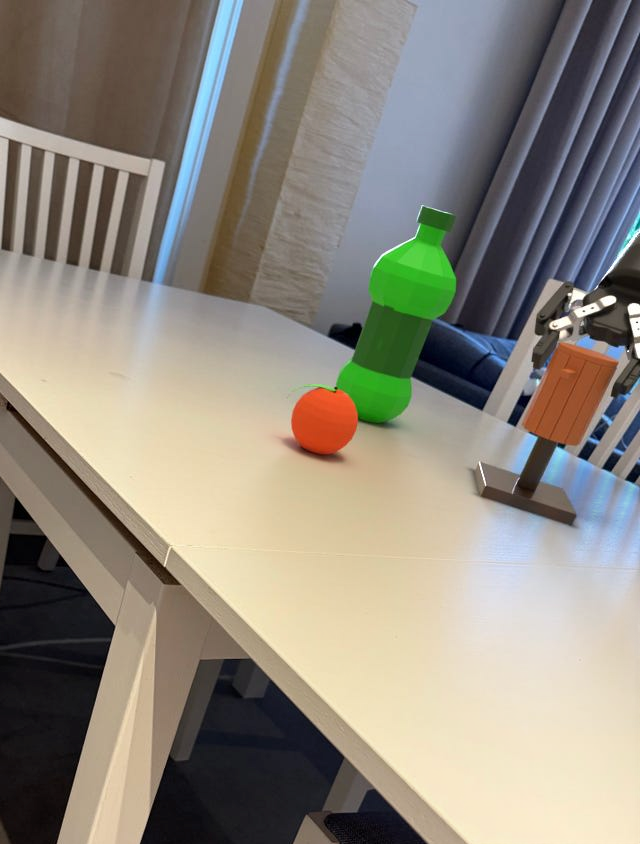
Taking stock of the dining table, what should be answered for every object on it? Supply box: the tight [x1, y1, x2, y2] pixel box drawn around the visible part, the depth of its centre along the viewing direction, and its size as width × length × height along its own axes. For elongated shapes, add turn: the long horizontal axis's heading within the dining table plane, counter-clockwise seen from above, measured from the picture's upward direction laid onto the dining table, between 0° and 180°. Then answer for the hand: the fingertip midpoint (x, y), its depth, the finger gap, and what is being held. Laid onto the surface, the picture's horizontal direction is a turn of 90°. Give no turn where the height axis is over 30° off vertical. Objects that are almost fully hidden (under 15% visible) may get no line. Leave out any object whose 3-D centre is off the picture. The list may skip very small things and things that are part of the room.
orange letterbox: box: [520, 342, 620, 447], centre depth 97 cm, size 9×6×9 cm
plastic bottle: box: [335, 205, 457, 424], centre depth 113 cm, size 10×10×25 cm
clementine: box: [286, 383, 359, 455], centre depth 97 cm, size 8×7×7 cm
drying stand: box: [474, 435, 578, 526], centre depth 100 cm, size 10×10×16 cm
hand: (574, 377), depth 96 cm, fingers open, 8 cm apart
